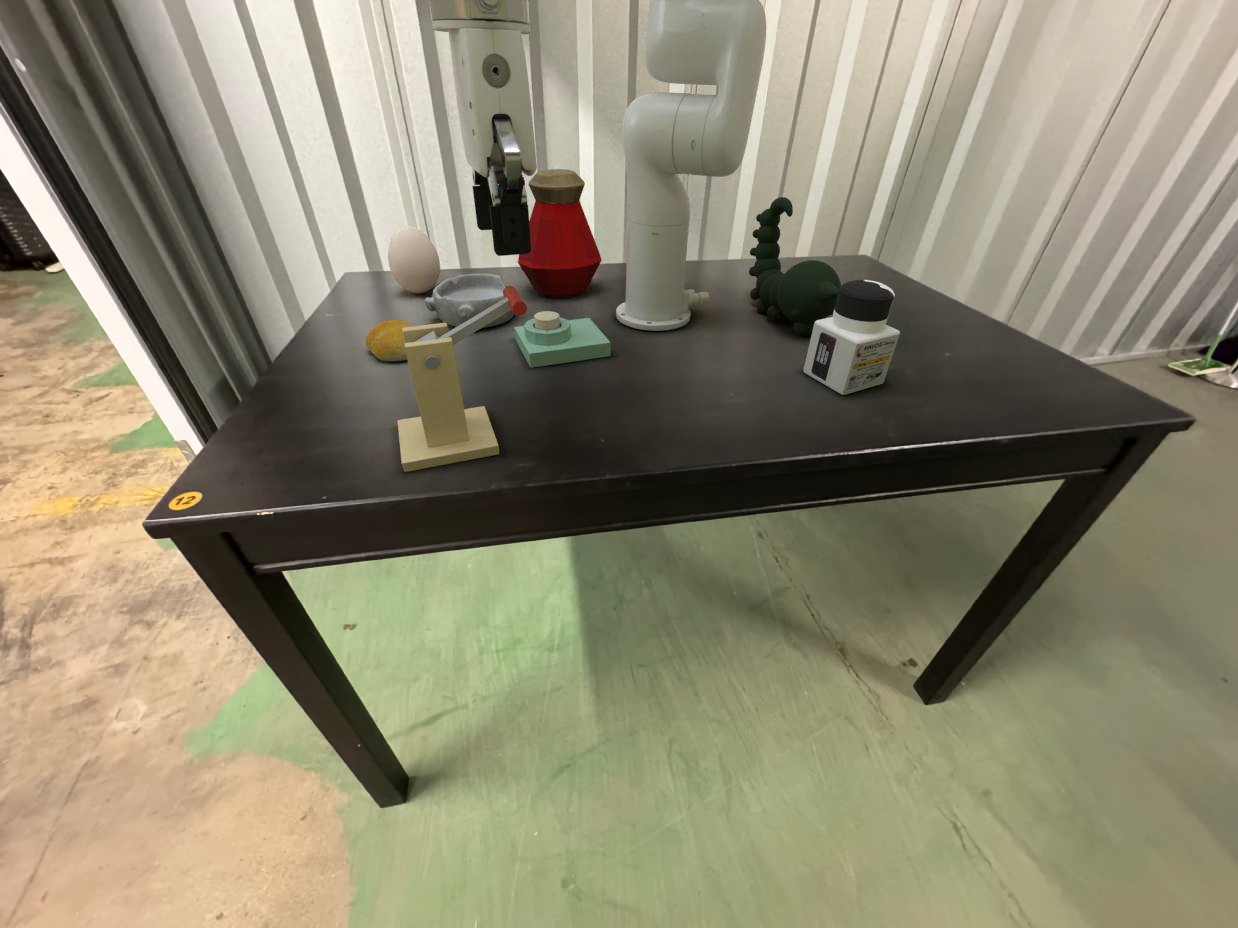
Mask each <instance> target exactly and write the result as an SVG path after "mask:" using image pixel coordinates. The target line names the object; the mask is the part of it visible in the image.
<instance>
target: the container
mask: <svg viewBox="0 0 1238 928" xmlns="http://www.w3.org/2000/svg"><path fill="white" fill-rule="evenodd" d="M895 297H896V293H895V292H894V290H893V289H892V288H891V287H889V286H888V285H887V284H885V283H882V282H879V281H875V280H869V279H855V280H851V281H846V282H844V283H843V284H841V286H840V289H839V293H838V297H837V300H836V304H835V308H834V312H833V315H832V316H830V317H826V318H824V319H821V320H817V321H815V323H814V327H813V331H812V335H810V340H809V345H808V349H807V352H806V356H805V362H804V366H803V370H802V371H803V373H804V374H805V375H806V376H809V377H810V378H812V379H813V380H816V381H818V382H819V383H820V384H822V385H824V386H826V387H827V388H829V389H831V390H832V391H834V392H836V393H838V394H839V395H841V396H846V395H849V394H853V393H856V392H860V391H862V390H866V389H869V388H874V387H877V386H880V385H883V384H884V383H885V379H886V377H887V374H888V371H889V367H890V364H891V362H892V359H893V355H894V353H895V350H896V347H897V344H898V341H899V338H900V335H901V331H900V330H899V329H898V328H897V329H896V328H894V327H892V326H890V325H887V321H888V318H889V316H890V313H891V309H892V306H893V303H894V299H895Z"/></svg>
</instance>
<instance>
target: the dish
mask: <svg viewBox="0 0 1238 928" xmlns="http://www.w3.org/2000/svg"><path fill="white" fill-rule="evenodd" d="M505 287H506V284H505V282H504V280H503V278H502V276H501V275H498V274H494V273H468V274H459V275H457V276H455V277H450V278H447V279H445V280H443V281H441V282H440V283H439V284H438V285H437V286H435V288H434V289H433V290H432V295H431V297H425V298H424V304H425V308H426V309H427V310H429V312H433V313H434V312H436V315H437V317H438V318H439V320H440V321H441V322H442V323H447V325H449V326H453V327H455V328H456V327H458V326H459V325H461V324H463V323H464V322H466V321H468V320H469V319H471V318H473V317H474V316H476V315H478V314H479V313H481V312H483V311H484V310H486V309H488V308H489V307H491V306H493V305H494V304H496V303H498V302H499V301H501V300H503V299H504V298H505V297H504V295H503V290H504V288H505ZM514 315H515V314H514V312H513V311H512V310H511V311H509V312H507V313H506V314H504V315H502V316H501V317H499V318H497V319H496V320H494V321H492V322H491V323H489V324H487V325H486V326H484V327H482V328H481V329H483V328H490V327H495V326H499V325H501V324H504V323H506V322H508V321H509V320H511V319H512V318H513V317H514Z"/></svg>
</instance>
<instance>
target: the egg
mask: <svg viewBox="0 0 1238 928" xmlns="http://www.w3.org/2000/svg"><path fill="white" fill-rule="evenodd" d="M440 261H441V260H440V256H439V253H438V251H437V248H436V247H435V245H434V244H433V242H432V240H431V239H430V238H429V236H428V235H427V234H426V233H424V232H423V231H422V230H421V229H419V228H418V227H415V226H412V225H406V226H402V227H400V228H399V229H397V231H395V232H394V233H393V234H392V236H391V238H390V241H389V246H388V249H387V262H388V267H389V270H390V273H391V275H392V277H393V278H394V280H395V281H396V282H397V284H398V285H399V286H401V287H402V288H403V289H405V290H406V291H408V292H411V293H414V294H424V293H427V292H429V291H430V290H431V289H432V288H434V287H435V285H436V283H437V282H438V280H439V278H440V274H441V262H440Z"/></svg>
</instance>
